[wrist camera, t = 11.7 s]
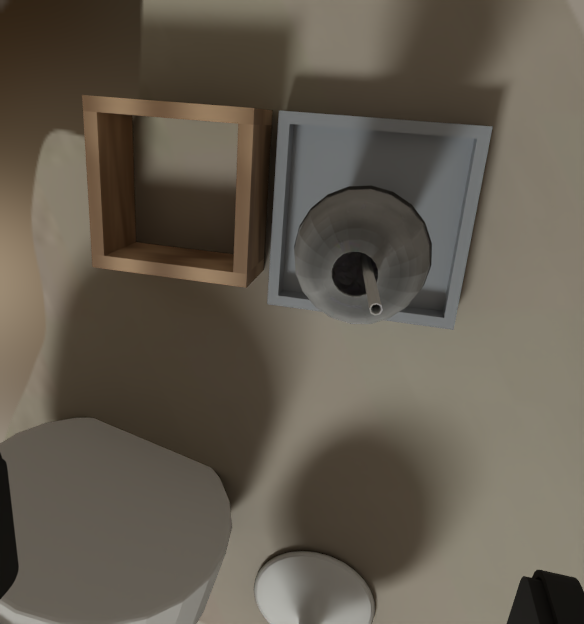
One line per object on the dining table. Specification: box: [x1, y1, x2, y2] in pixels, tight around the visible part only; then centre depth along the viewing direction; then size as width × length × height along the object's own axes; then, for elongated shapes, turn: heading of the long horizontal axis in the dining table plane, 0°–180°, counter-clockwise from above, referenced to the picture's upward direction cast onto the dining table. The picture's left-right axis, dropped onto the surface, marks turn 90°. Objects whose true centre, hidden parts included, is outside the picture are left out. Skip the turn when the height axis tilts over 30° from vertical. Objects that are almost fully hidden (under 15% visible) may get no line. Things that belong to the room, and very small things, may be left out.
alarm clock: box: [0, 418, 232, 624], centre depth 42 cm, size 21×8×20 cm, turn 72°
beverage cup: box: [294, 185, 432, 324], centre depth 29 cm, size 7×7×20 cm
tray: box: [267, 111, 493, 330], centre depth 38 cm, size 14×14×2 cm
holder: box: [82, 95, 273, 288], centre depth 39 cm, size 12×12×5 cm
